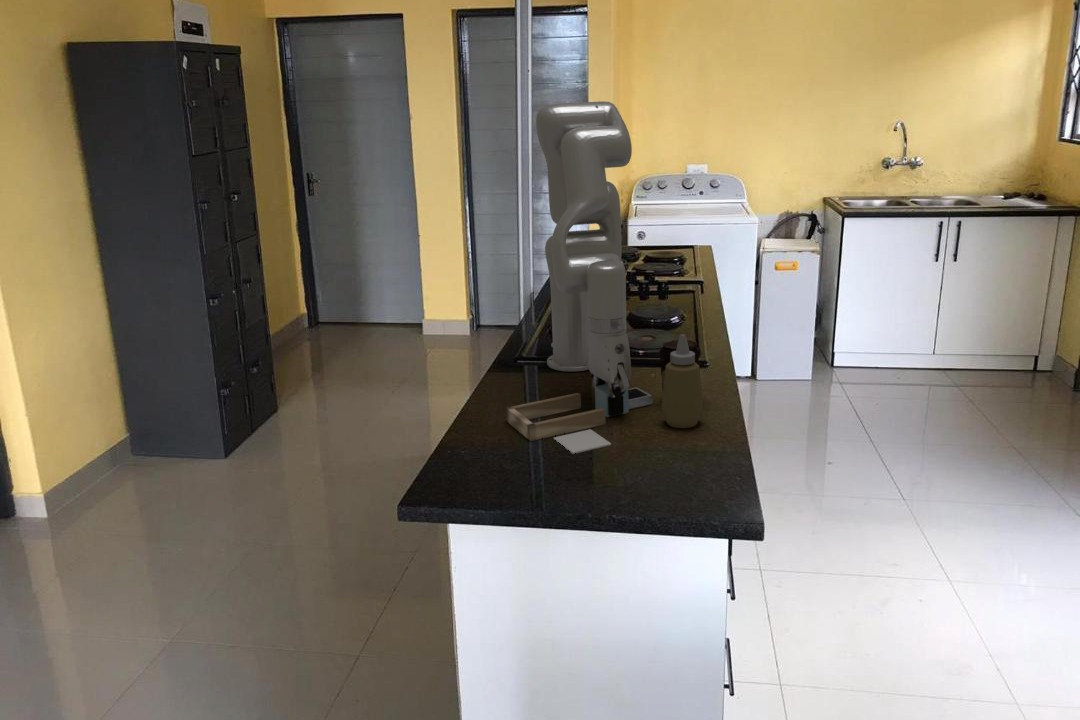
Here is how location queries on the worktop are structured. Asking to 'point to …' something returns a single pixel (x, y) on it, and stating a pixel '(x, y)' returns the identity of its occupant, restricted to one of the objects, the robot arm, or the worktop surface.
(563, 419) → the cubby
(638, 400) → the tray
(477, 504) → the worktop surface
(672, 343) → the coffee cup
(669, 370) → the squeeze bottle
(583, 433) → the mat
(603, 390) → the blue block
